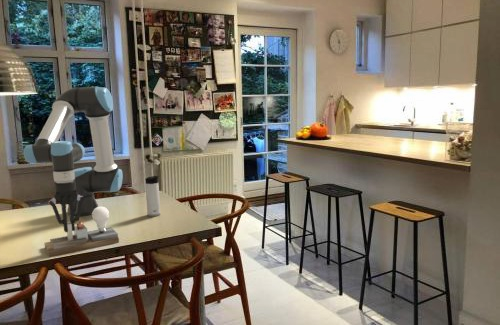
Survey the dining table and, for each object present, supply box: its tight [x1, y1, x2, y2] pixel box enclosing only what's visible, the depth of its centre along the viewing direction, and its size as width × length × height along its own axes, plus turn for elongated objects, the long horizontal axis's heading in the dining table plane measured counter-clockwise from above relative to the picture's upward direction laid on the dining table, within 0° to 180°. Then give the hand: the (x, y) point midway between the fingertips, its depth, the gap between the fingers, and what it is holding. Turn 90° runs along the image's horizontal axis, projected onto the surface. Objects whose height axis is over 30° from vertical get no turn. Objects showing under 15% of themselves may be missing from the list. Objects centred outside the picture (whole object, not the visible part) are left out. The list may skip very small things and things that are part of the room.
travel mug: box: [144, 175, 161, 218], centre depth 205 cm, size 6×7×20 cm
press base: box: [44, 227, 120, 258], centre depth 166 cm, size 12×26×4 cm, turn 124°
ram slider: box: [73, 221, 89, 241], centre depth 165 cm, size 6×4×7 cm, turn 34°
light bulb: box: [91, 205, 110, 232], centre depth 169 cm, size 7×7×11 cm
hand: (70, 239), depth 163 cm, fingers closed
